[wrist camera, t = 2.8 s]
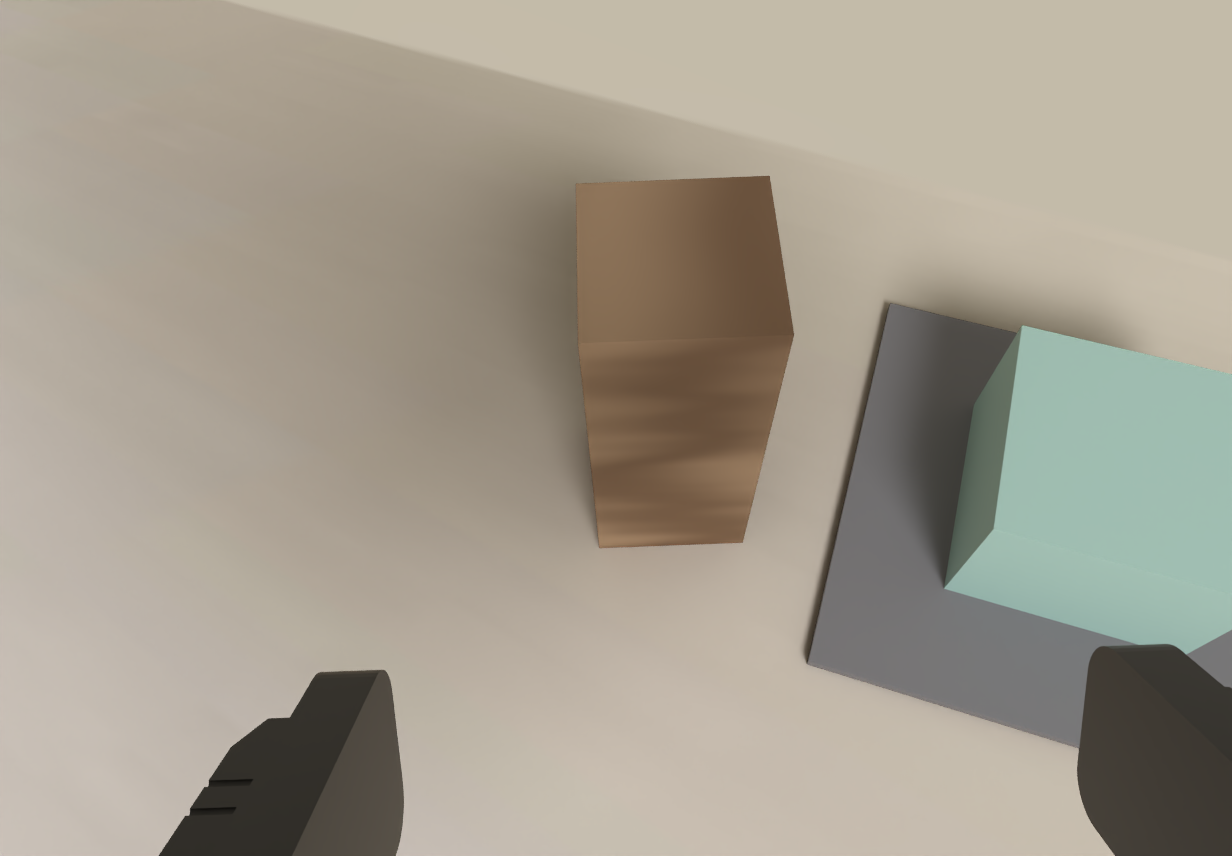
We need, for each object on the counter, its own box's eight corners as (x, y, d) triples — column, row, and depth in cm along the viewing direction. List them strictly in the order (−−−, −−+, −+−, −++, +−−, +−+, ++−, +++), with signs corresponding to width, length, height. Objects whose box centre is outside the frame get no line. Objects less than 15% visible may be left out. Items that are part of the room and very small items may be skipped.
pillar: (599, 548, 26) (577, 343, 17) (596, 424, 28) (575, 184, 19) (742, 542, 26) (793, 334, 17) (729, 418, 28) (769, 176, 19)
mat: (806, 663, 24) (808, 661, 24) (888, 308, 30) (890, 302, 29) (1304, 818, 22) (1312, 816, 22) (1291, 404, 27) (1297, 399, 27)
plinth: (943, 588, 25) (993, 528, 21) (973, 404, 27) (1021, 325, 24) (1181, 656, 24) (1275, 606, 20) (1187, 458, 26) (1270, 383, 23)
